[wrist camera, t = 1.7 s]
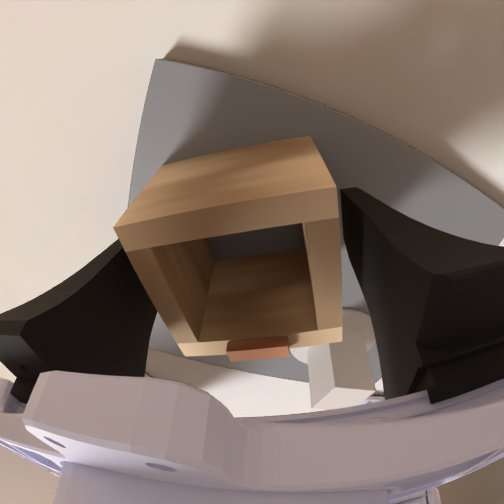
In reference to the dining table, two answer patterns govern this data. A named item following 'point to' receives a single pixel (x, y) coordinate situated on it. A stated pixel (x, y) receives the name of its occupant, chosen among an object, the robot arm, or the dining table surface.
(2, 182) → the dining table surface
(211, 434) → the robot arm
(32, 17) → the dining table surface
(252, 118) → the panel
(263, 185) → the wooden cubby shelf
